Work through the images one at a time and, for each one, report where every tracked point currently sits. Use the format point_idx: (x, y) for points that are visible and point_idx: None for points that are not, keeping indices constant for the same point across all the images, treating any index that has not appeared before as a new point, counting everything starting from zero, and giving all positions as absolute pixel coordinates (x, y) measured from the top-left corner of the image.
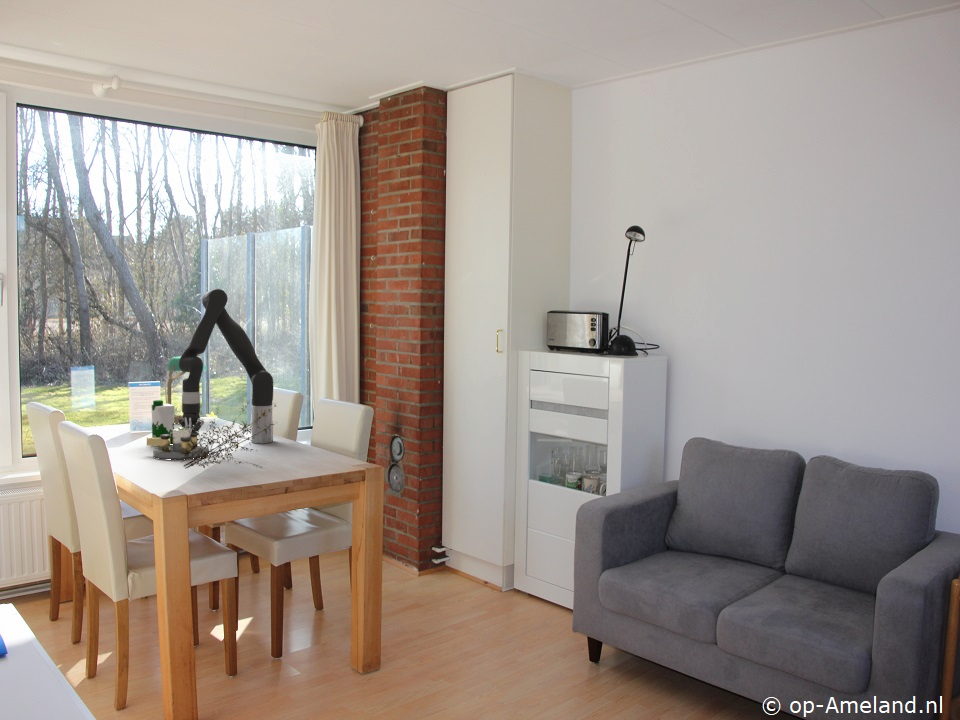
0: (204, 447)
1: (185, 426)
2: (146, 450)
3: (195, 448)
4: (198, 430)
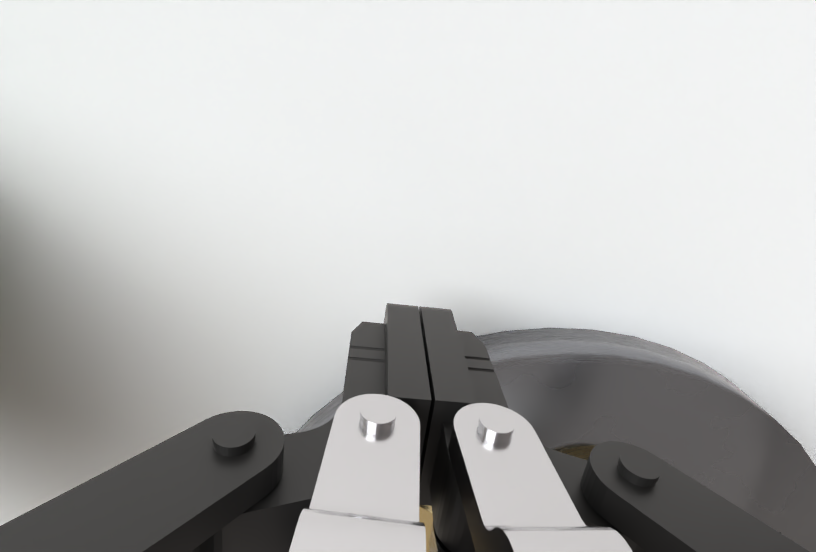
0: (716, 413)
1: (74, 532)
2: None
3: None
4: (663, 476)
